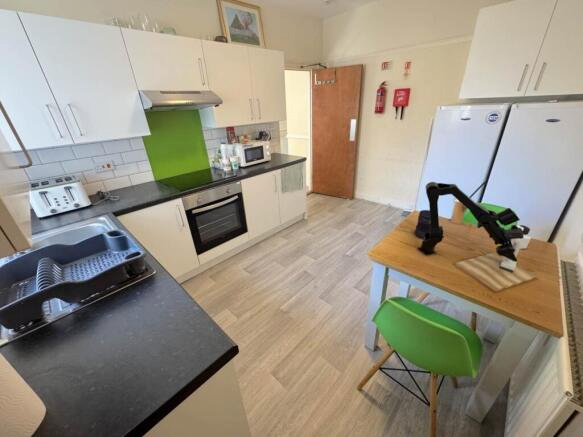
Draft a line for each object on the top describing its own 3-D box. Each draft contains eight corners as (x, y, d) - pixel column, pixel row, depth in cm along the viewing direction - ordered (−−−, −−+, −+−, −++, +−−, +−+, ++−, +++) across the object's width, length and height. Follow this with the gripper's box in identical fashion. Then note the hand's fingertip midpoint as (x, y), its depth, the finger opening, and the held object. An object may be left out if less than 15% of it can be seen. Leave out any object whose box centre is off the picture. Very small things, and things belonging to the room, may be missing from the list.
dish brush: (512, 273, 113) (524, 248, 106) (499, 268, 116) (510, 244, 109) (514, 265, 118) (526, 241, 111) (501, 260, 121) (512, 237, 114)
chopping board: (494, 292, 104) (495, 289, 104) (454, 264, 121) (455, 262, 121) (535, 278, 111) (536, 276, 110) (491, 254, 128) (492, 252, 127)
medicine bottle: (516, 241, 137) (525, 223, 132) (526, 249, 131) (535, 230, 125) (503, 241, 138) (511, 223, 132) (512, 248, 132) (521, 229, 126)
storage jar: (410, 233, 149) (416, 207, 141) (421, 229, 152) (428, 204, 144) (424, 241, 141) (431, 214, 133) (435, 237, 144) (443, 210, 136)
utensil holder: (470, 226, 155) (486, 182, 141) (450, 224, 157) (464, 181, 143) (462, 218, 164) (477, 176, 150) (444, 217, 166) (457, 176, 152)
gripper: (517, 231, 101) (540, 261, 101) (512, 214, 115) (533, 240, 114) (487, 241, 109) (509, 269, 109) (486, 224, 123) (505, 249, 122)
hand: (515, 256), depth 113 cm, fingers open, 9 cm apart
